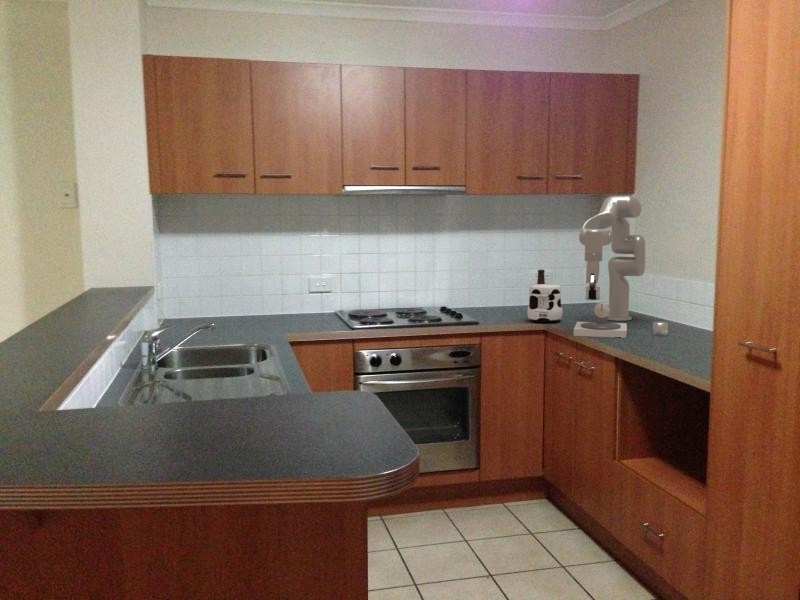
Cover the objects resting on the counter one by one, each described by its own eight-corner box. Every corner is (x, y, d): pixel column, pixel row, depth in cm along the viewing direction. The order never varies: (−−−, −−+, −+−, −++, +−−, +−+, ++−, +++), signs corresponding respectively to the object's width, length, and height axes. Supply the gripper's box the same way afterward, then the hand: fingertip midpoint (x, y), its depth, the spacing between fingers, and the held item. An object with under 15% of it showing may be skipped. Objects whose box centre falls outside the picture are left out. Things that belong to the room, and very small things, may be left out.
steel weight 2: (652, 333, 301) (653, 321, 300) (667, 334, 299) (667, 321, 298) (653, 336, 295) (653, 323, 295) (667, 336, 294) (668, 324, 293)
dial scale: (577, 327, 319) (577, 301, 318) (626, 329, 312) (627, 302, 311) (573, 335, 298) (574, 307, 297) (626, 337, 291) (627, 309, 290)
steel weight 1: (586, 298, 306) (586, 286, 306) (599, 298, 304) (600, 286, 304) (585, 299, 301) (585, 287, 300) (599, 300, 299) (599, 287, 298)
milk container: (549, 318, 352) (550, 283, 349) (569, 322, 335) (570, 286, 333) (520, 320, 345) (520, 285, 343) (539, 325, 329) (539, 288, 327)
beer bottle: (548, 315, 361) (548, 270, 358) (533, 315, 363) (533, 270, 360) (548, 313, 369) (548, 269, 366) (533, 313, 370) (533, 269, 367)
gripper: (585, 256, 310) (585, 295, 312) (583, 258, 294) (582, 300, 296) (603, 256, 307) (602, 296, 309) (601, 258, 291) (600, 300, 293)
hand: (592, 297), depth 303 cm, fingers closed on steel weight 1, 6 cm apart
